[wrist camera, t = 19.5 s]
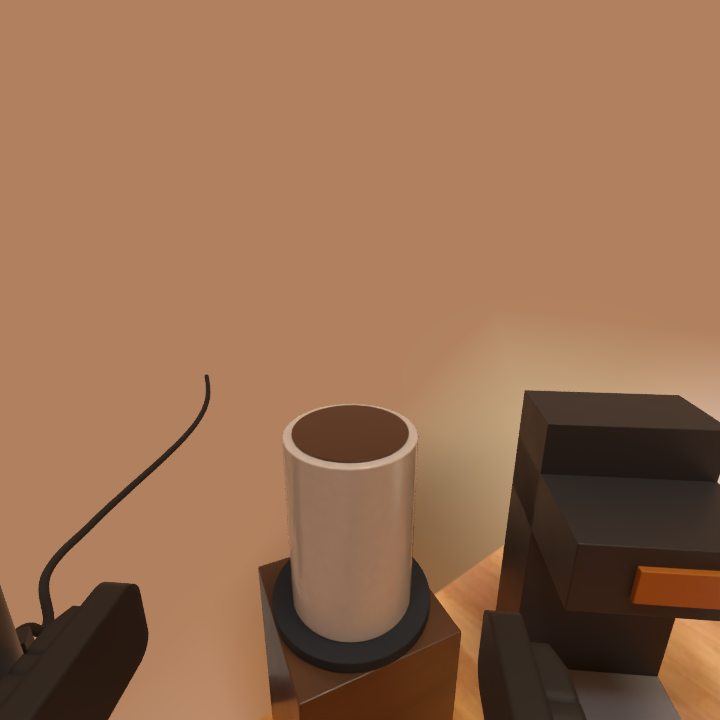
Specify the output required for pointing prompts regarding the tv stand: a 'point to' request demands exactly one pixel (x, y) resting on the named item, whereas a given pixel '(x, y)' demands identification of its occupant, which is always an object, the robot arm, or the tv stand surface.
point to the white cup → (350, 518)
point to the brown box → (363, 674)
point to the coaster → (344, 653)
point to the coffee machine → (613, 538)
